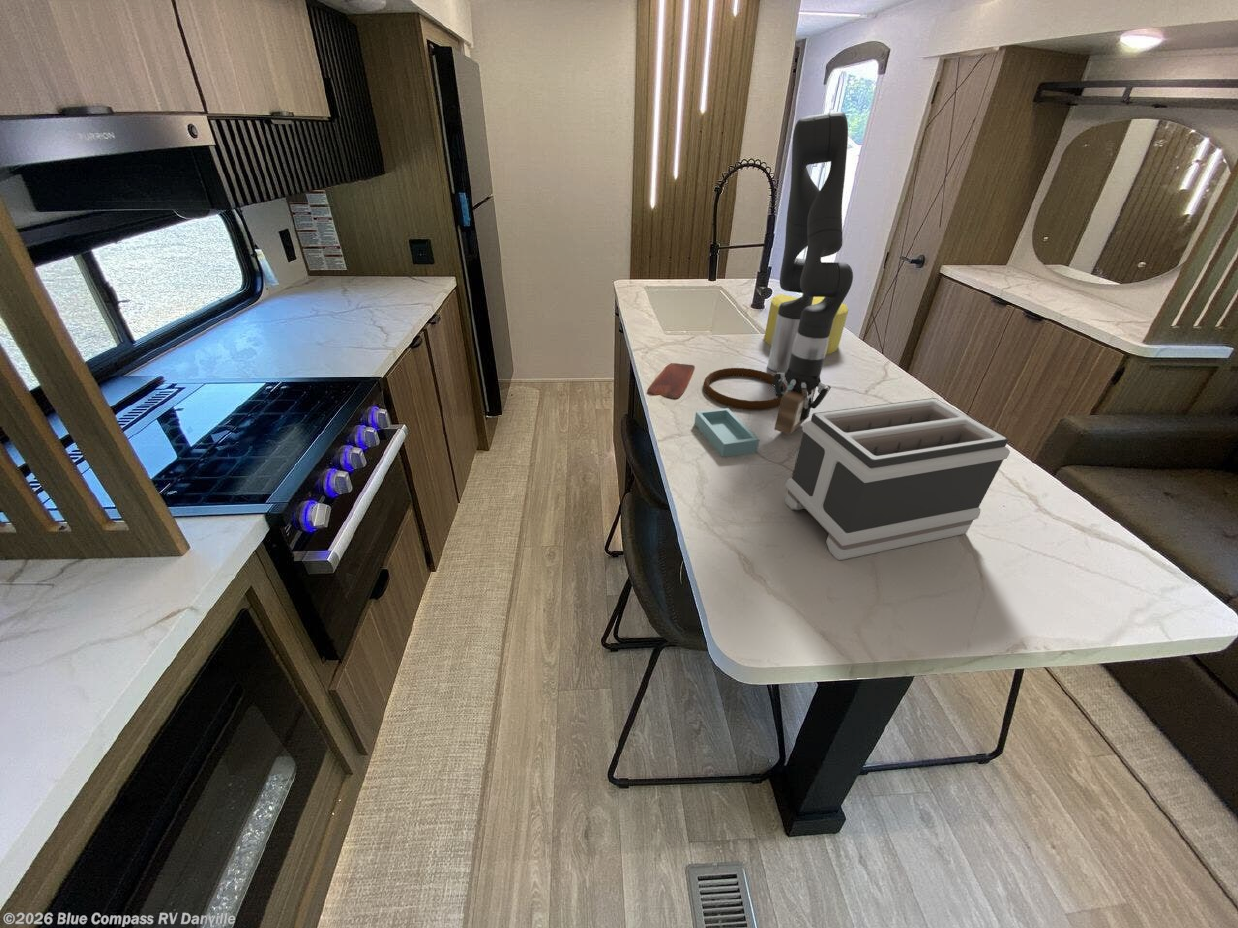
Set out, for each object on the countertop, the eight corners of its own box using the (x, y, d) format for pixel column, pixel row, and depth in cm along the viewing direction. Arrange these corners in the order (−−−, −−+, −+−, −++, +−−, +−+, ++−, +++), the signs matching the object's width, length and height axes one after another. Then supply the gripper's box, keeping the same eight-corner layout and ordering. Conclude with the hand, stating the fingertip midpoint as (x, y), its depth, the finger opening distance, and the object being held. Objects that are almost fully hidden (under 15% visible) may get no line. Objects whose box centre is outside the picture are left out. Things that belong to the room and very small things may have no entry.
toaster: (986, 531, 100) (1037, 438, 88) (835, 563, 91) (871, 465, 80) (915, 478, 114) (952, 393, 103) (780, 502, 106) (803, 411, 94)
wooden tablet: (678, 402, 144) (679, 397, 143) (644, 396, 147) (645, 391, 146) (699, 368, 165) (699, 363, 165) (669, 363, 168) (669, 358, 167)
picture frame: (793, 412, 135) (801, 380, 130) (808, 417, 133) (816, 385, 128) (774, 429, 127) (781, 396, 122) (789, 434, 125) (797, 401, 120)
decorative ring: (807, 413, 134) (695, 392, 143) (804, 423, 136) (694, 402, 144) (812, 378, 153) (713, 362, 162) (810, 387, 155) (712, 370, 163)
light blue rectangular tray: (694, 423, 133) (695, 411, 131) (726, 419, 135) (728, 408, 133) (722, 457, 120) (724, 444, 118) (756, 452, 122) (759, 439, 120)
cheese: (771, 326, 201) (778, 287, 193) (841, 337, 193) (852, 296, 184) (757, 347, 182) (764, 304, 173) (834, 360, 173) (846, 316, 164)
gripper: (844, 355, 119) (826, 420, 128) (786, 340, 126) (773, 403, 135) (833, 365, 114) (815, 431, 123) (773, 349, 121) (760, 413, 131)
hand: (793, 416), depth 129 cm, fingers closed on picture frame, 4 cm apart
